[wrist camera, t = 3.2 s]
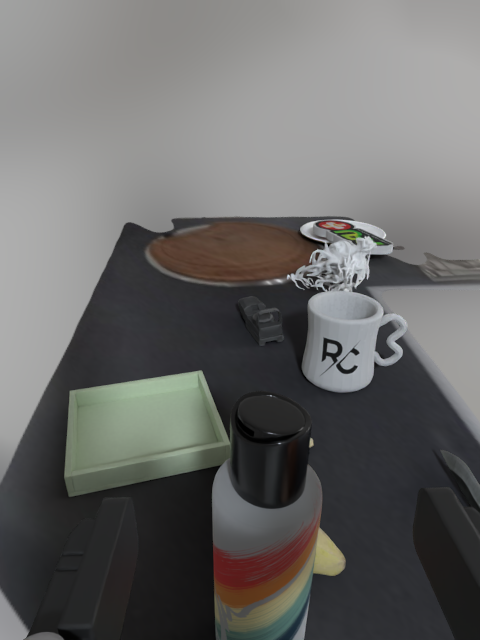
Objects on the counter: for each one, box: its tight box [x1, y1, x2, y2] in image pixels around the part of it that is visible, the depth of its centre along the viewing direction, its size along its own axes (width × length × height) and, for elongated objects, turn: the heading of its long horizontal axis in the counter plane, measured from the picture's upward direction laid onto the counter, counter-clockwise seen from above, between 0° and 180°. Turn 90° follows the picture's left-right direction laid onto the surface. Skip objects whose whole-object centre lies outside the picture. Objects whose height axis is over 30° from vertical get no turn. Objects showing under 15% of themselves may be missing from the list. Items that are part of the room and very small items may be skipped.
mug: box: [302, 291, 407, 393], centre depth 56 cm, size 12×9×10 cm
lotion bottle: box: [212, 391, 322, 640], centre depth 25 cm, size 6×6×20 cm
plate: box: [300, 220, 386, 244], centre depth 111 cm, size 21×21×1 cm
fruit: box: [309, 438, 346, 576], centre depth 40 cm, size 7×15×3 cm, turn 1°
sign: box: [313, 220, 393, 254], centre depth 102 cm, size 22×2×10 cm
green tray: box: [64, 371, 230, 497], centre depth 48 cm, size 15×13×2 cm
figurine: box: [287, 236, 377, 292], centre depth 78 cm, size 13×15×12 cm
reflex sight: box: [238, 296, 284, 346], centre depth 68 cm, size 4×10×5 cm, turn 18°
